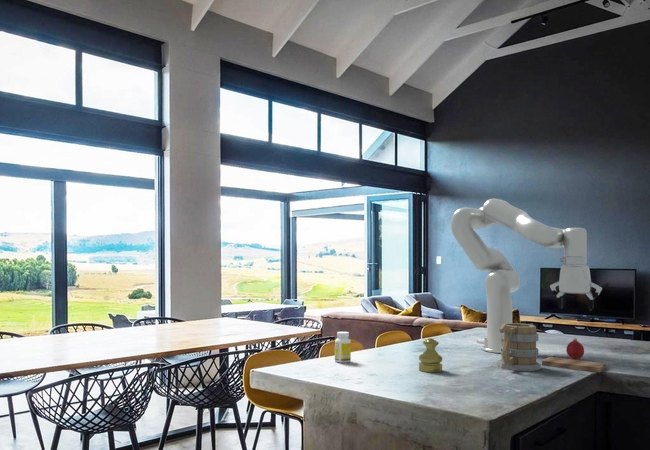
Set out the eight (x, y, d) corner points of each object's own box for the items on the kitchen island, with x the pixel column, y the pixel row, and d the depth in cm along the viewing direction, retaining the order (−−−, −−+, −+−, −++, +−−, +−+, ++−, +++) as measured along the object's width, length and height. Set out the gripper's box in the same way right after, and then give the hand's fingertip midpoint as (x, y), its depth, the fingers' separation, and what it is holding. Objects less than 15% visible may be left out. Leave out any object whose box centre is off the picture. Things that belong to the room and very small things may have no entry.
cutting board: (541, 365, 188) (541, 360, 188) (549, 361, 196) (549, 356, 196) (600, 372, 177) (600, 367, 177) (605, 367, 185) (605, 363, 185)
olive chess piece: (428, 373, 170) (428, 340, 171) (413, 369, 177) (414, 337, 177) (447, 371, 173) (447, 339, 174) (432, 367, 180) (432, 336, 181)
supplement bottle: (353, 361, 188) (353, 332, 189) (346, 363, 183) (347, 333, 184) (338, 359, 191) (338, 330, 191) (331, 362, 186) (332, 332, 186)
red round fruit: (586, 362, 194) (586, 339, 194) (568, 361, 195) (568, 339, 196) (581, 359, 200) (581, 337, 200) (564, 359, 201) (564, 336, 201)
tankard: (509, 362, 192) (510, 318, 193) (545, 368, 183) (545, 322, 184) (480, 369, 178) (480, 322, 179) (517, 376, 169) (517, 326, 170)
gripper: (547, 261, 202) (547, 308, 201) (599, 262, 191) (599, 312, 190) (552, 261, 208) (552, 307, 207) (603, 262, 197) (603, 311, 196)
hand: (575, 309), depth 198 cm, fingers open, 9 cm apart
